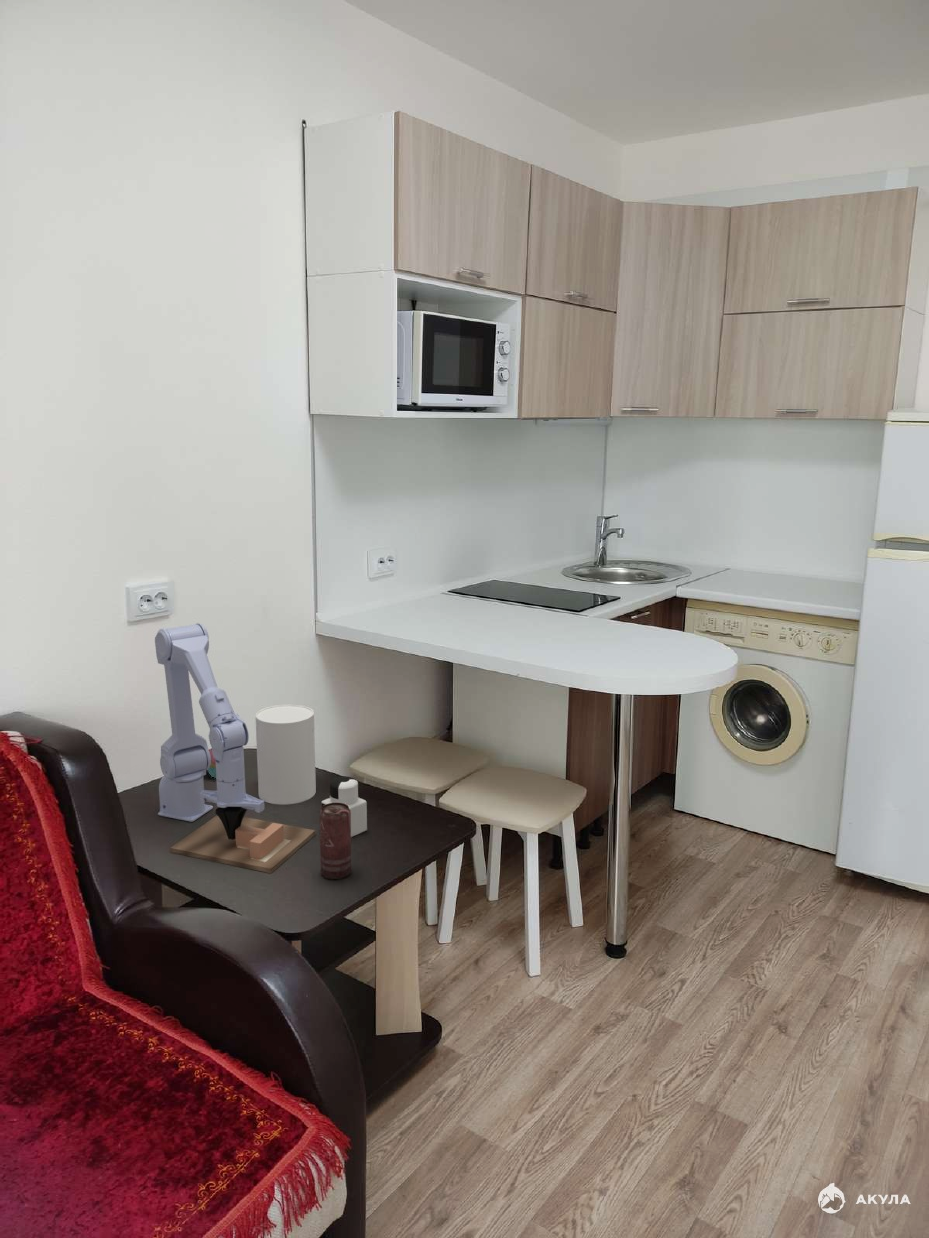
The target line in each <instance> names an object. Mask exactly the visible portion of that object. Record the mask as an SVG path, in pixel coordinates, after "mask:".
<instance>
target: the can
mask: <svg viewBox="0 0 929 1238" xmlns="http://www.w3.org/2000/svg"><path fill="white" fill-rule="evenodd" d="M318 816H319V847H320V848H319V851H320V852H319V853H320V855H319V856H320V859H319V860H320V874H321V875H322V877H324V878H325V879H327V880H333V879H337V880H342V879H344V877H345V878H346V876H347V877H348V876H349V875H350V874H351V872H352V837H351V811H350V809H349V807H348V805H346V804H343V803H329V804H326V805H324V806H322V805H321V808H320V811H319V815H318Z"/></svg>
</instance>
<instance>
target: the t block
mask: <svg viewBox="0 0 929 1238" xmlns="http://www.w3.org/2000/svg"><path fill="white" fill-rule="evenodd" d="M276 823H277V822H274V823H272V824H271V825H270V826H268V827H267V828H266V829H260V828H255V827H250V826H245V825H241V826H240V827H239V828H237V829H236V830H235V835H236V846H241V847H246V848H250V857H252V858H257V859H262V858H263V857H264V856H265V855H267V854H268V853H269V852H270V851H271V850H273V849H274V848H275V847H276V846H277V845H279V844H280V843H281V842H282V841H283V840H284V829H283V825H282V824H283V823H279V824H276Z"/></svg>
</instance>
